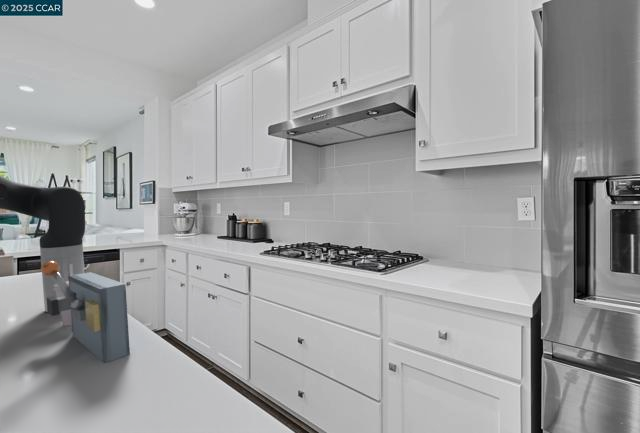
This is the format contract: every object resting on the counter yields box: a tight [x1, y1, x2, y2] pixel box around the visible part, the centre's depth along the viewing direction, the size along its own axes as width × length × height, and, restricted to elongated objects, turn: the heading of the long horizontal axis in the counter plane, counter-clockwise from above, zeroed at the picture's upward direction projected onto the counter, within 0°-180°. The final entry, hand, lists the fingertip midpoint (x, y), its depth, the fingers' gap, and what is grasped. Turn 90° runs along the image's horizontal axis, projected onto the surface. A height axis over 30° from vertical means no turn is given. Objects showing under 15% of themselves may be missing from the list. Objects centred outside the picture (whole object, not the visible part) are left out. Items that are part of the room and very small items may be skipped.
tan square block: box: [85, 300, 101, 332], centre depth 60 cm, size 5×4×5 cm
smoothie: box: [53, 264, 73, 327], centre depth 78 cm, size 6×6×14 cm
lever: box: [40, 261, 84, 310], centre depth 61 cm, size 3×3×10 cm
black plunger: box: [47, 296, 73, 317], centre depth 66 cm, size 4×4×3 cm
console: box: [68, 271, 131, 364], centre depth 65 cm, size 20×5×13 cm, turn 50°
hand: (6, 191), depth 51 cm, fingers closed
